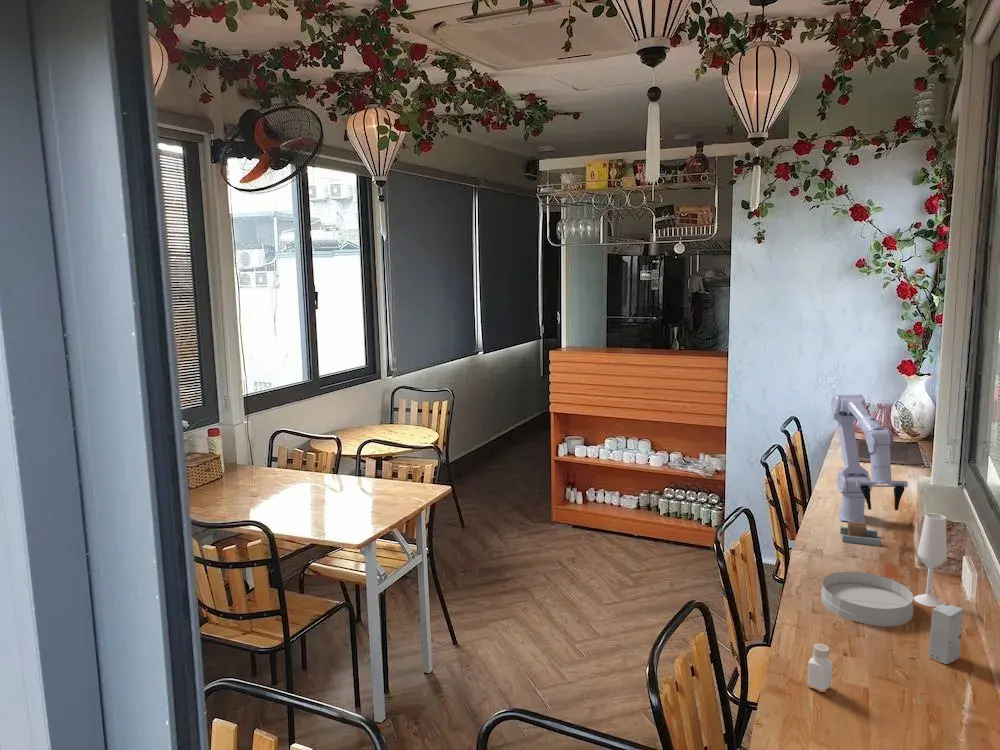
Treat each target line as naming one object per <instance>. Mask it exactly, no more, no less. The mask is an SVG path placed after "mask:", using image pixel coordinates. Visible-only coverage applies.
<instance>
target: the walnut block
mask: <svg viewBox="0 0 1000 750" xmlns="http://www.w3.org/2000/svg"><path fill="white" fill-rule="evenodd" d="M847 527H848V533H847V534H846V535H849V536H858V537H866V530H868V527H867V525H866V523H860V522H851V521H848V522H847Z"/></svg>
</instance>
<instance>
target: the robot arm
mask: <svg viewBox="0 0 1000 750" xmlns="http://www.w3.org/2000/svg"><path fill="white" fill-rule="evenodd" d="M830 408H831V409H830V410H831V414H832V419H833V420H834V421H836V423H837V428H838V434H839V441H840V445H841V452H842V458H843V464H844V467H843V468H842V469H841V470H839V471H838V472H837V481H836V482H837V483H836V484H837V485H836V486H837V490H838V491H839V492H840V494H841V510H838V515H839V520H840V521H841V522H847V523H848V521H851V522H860V523H865V524H866V523H867V521H866V518H865V516H864V515H865V506H866V504H867V510H868V511H869V510H870V511H871V510H872V501H871V492H872V490H873V488H874V487H875V488H876V487H877V488H879V487H880V488H893V495H894V496H893V497H894V511H899V506H900V502H901V499H902V496H903V494H904V492H905V488H908V487H909V485H908V481H907V480H892V465H891V464H892V463H891V449H890V448H892V446H893V444H894V443H893V442H894V436H893V433H892V430H891V429H888V428H884V427H883V425H881V423H880V422H879V421H878V419H877V418H876V417H875V416H874V415H873V416H872V415H870V414H869V412H868V410H867V409H866V399H865V397H864V396H863V395H862V394H834V395H833V396H832V398H831V401H830ZM857 420H858V427H859V428H860V430H861V431H862V433H863V434H864V436H865V437H866V438H865V442H866V443H865V444H866V445H867V448H868V453H869V454H870V474H869V471H868V470H867V469H865V468H864V467H863V466H861V463H860V458H859V451H858V445H857V439H856V433H855V432H856V431H855V427H854V422H855V421H857ZM870 475H871V477H870ZM865 502H866V503H865Z"/></svg>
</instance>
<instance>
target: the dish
mask: <svg viewBox="0 0 1000 750" xmlns="http://www.w3.org/2000/svg"><path fill="white" fill-rule="evenodd" d="M820 590H821V595H820V596H821V597H820V599H821V600H820V601H821V603H822V602H823V603H822V604H824V605H823V606H824V607H825V608H826V609H827V608H828V609H829V610H828V609H827V610H828V611H829V612H831V611H832V612H831V613H833V614H835V615H836V614H837V615H836V616H838V615H839V616H838V617H840V616H841V618H843V617H844V618H843V619H845V618H846V619H845V620H848V619H849V620H848V621H850V620H852V621H851V622H854V621H856V622H855V623H857V622H860V623H859V624H861V623H865V624H864V625H866V624H871V625H870V626H872V625H875V626H874V627H886V626H887V627H896V626H901V625H904V624H907V623H909V622H910V621H912V618H913V616H914V595H913V593H912V591H911V590H910V589H909V588H907V587H906V586H904V585H903V584H902V583H900V582H897V581H896V580H894V579H890V578H888V577H885V576H882V575H877V574H873V573H868V572H861V571H838V572H834V573H830V574H828V575H826V576H825V577H824V578H823V580H822V588H821V589H820Z"/></svg>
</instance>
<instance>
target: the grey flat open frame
mask: <svg viewBox="0 0 1000 750" xmlns="http://www.w3.org/2000/svg"><path fill="white" fill-rule="evenodd" d="M839 531H840V532H839V533H840V534H842V538H841V539H842V543H849V544H850V543H851V544H861V545H869V546H876V547H881V538H878V530H875V529H867V530H866V537H858V536H849V535H847V533H848V526H840V530H839Z"/></svg>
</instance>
